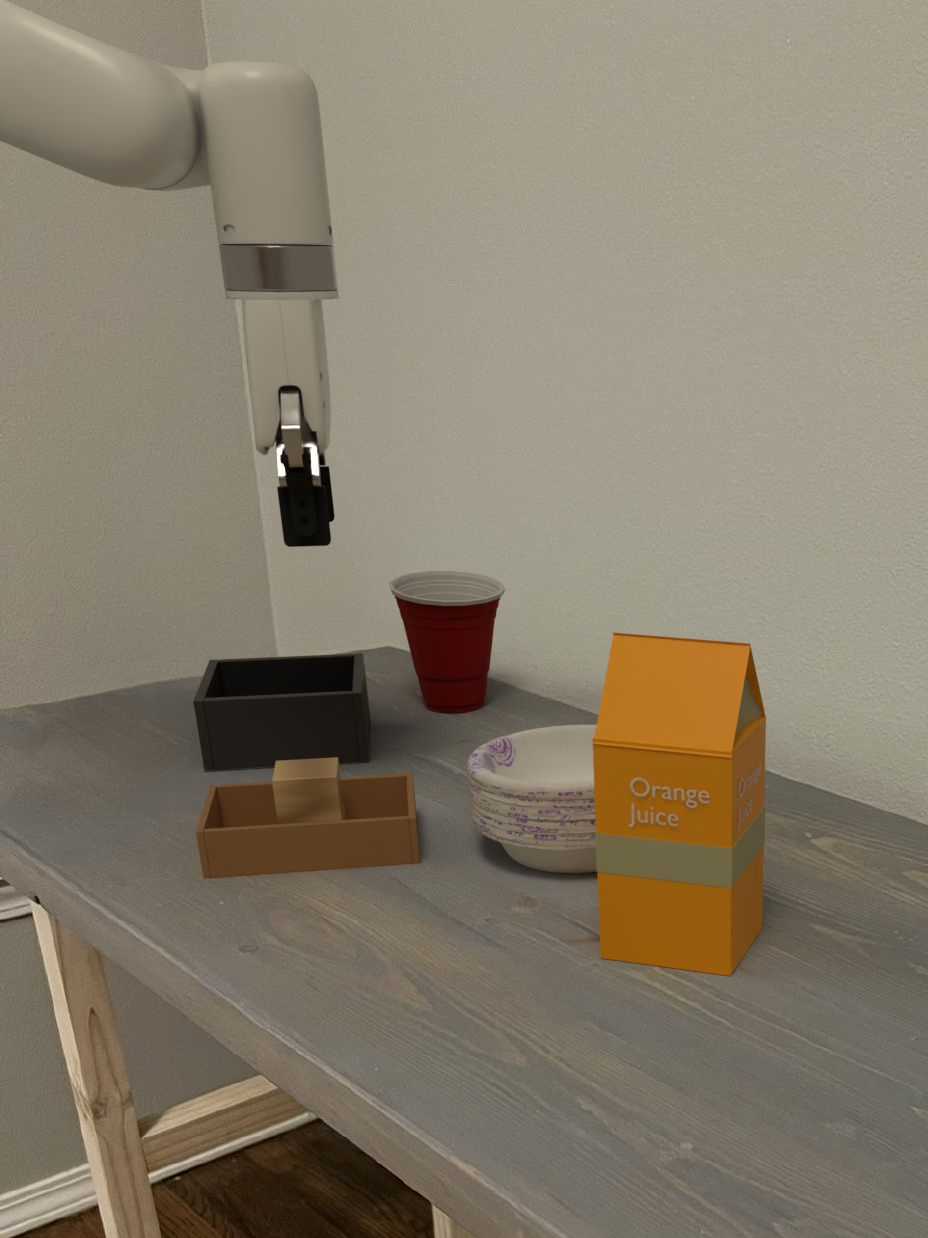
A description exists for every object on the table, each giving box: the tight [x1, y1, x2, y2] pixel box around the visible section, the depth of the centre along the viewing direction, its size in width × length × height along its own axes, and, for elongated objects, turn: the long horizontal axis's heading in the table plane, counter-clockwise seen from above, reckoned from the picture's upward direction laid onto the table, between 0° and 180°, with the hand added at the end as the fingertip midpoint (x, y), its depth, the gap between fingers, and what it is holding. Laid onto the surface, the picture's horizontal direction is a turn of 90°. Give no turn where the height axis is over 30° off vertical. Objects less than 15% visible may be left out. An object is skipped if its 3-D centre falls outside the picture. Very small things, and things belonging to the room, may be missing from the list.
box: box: [195, 772, 421, 880], centre depth 109 cm, size 15×10×4 cm, turn 102°
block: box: [271, 757, 346, 824], centre depth 109 cm, size 4×4×6 cm
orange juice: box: [592, 632, 767, 977], centre depth 92 cm, size 8×9×20 cm
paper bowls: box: [466, 724, 597, 874], centre depth 109 cm, size 15×15×8 cm
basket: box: [192, 652, 372, 773], centre depth 131 cm, size 14×14×7 cm
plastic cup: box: [388, 570, 506, 714], centre depth 142 cm, size 11×11×12 cm
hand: (310, 533), depth 109 cm, fingers open, 9 cm apart
